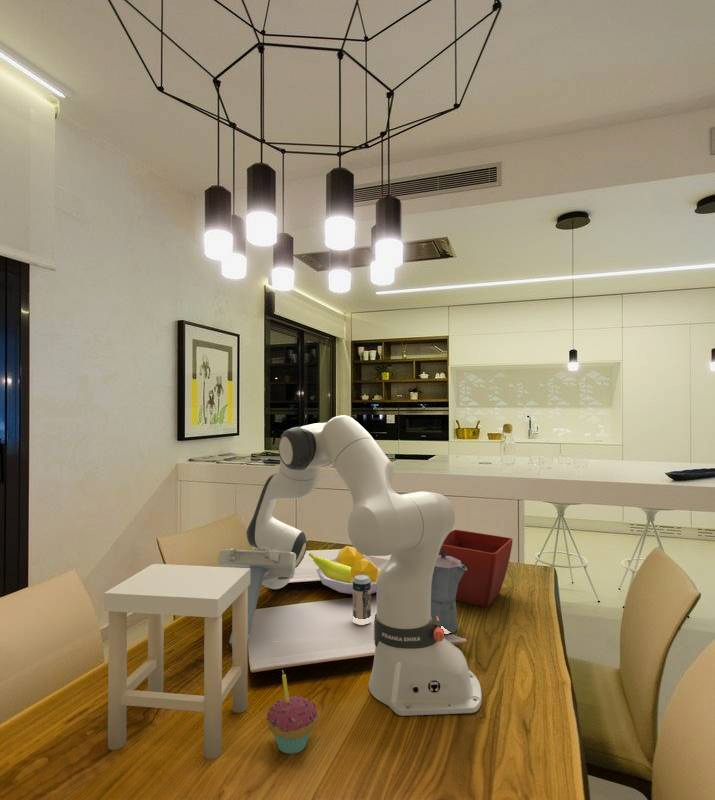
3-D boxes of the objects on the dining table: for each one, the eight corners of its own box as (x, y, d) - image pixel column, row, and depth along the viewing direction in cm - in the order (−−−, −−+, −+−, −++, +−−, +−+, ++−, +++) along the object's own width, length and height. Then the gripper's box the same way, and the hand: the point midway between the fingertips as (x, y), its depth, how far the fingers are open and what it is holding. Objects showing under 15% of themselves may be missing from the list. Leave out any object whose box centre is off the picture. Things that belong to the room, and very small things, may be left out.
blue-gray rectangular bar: (268, 555, 132) (266, 549, 130) (245, 648, 115) (242, 643, 112) (257, 554, 132) (254, 548, 130) (232, 647, 115) (229, 642, 113)
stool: (250, 704, 93) (250, 568, 94) (217, 760, 78) (218, 599, 79) (152, 695, 96) (153, 563, 96) (103, 749, 81) (104, 592, 81)
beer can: (369, 627, 125) (369, 580, 126) (351, 625, 126) (351, 579, 127) (372, 619, 130) (372, 574, 130) (354, 617, 131) (354, 573, 131)
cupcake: (257, 753, 80) (257, 680, 80) (283, 722, 88) (283, 655, 88) (303, 768, 77) (303, 691, 77) (326, 734, 85) (326, 665, 85)
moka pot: (460, 642, 118) (460, 559, 118) (403, 627, 126) (403, 549, 126) (473, 627, 126) (473, 549, 126) (419, 613, 134) (419, 540, 134)
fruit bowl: (405, 575, 164) (405, 541, 164) (392, 608, 137) (392, 568, 137) (325, 569, 170) (325, 536, 170) (299, 599, 144) (299, 561, 144)
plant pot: (513, 592, 149) (513, 537, 149) (495, 615, 133) (495, 553, 133) (454, 580, 159) (454, 528, 159) (430, 600, 143) (430, 542, 143)
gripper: (230, 551, 136) (212, 538, 124) (301, 554, 133) (290, 541, 122) (225, 575, 133) (206, 564, 121) (298, 578, 130) (286, 567, 118)
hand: (249, 552), depth 121 cm, fingers open, 8 cm apart
